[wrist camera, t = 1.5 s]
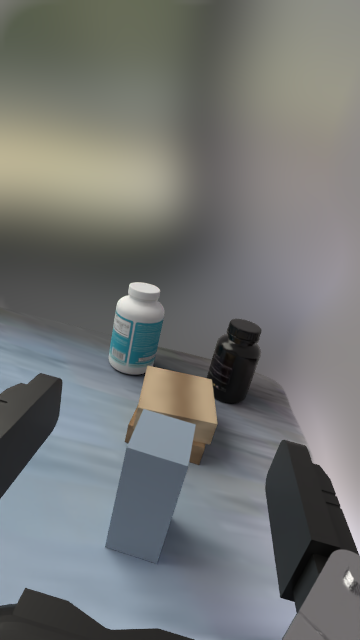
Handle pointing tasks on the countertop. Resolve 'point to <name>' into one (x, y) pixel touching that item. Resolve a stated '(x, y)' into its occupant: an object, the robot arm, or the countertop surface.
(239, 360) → the supplement bottle
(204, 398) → the tower top
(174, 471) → the pillar
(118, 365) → the pill bottle
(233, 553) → the countertop surface
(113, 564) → the countertop surface
